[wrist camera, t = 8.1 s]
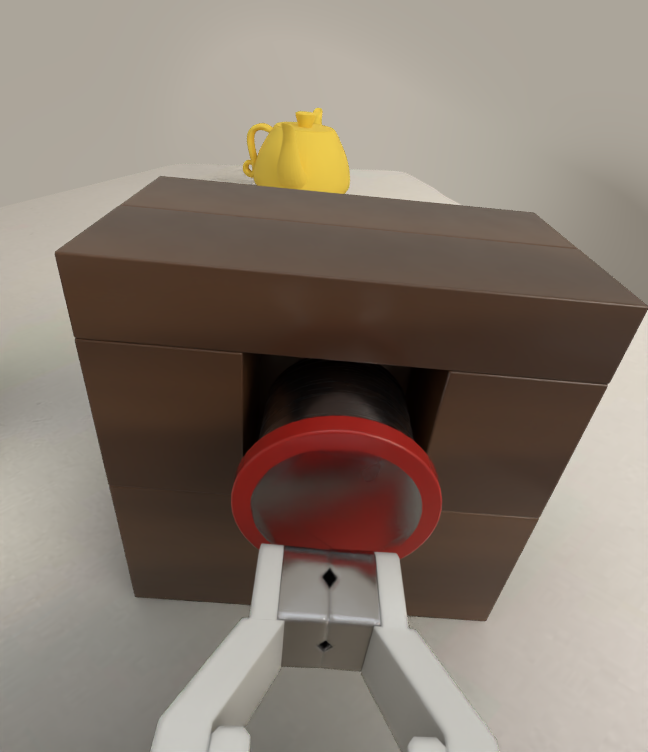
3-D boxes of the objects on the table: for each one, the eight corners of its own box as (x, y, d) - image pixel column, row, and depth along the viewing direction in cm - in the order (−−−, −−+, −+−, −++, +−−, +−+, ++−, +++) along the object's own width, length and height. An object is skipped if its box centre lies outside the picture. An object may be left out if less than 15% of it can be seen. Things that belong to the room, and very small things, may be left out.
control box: (486, 621, 19) (650, 306, 11) (134, 597, 19) (52, 251, 11) (447, 475, 26) (535, 212, 18) (187, 454, 25) (159, 175, 18)
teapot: (263, 181, 76) (264, 99, 70) (355, 194, 75) (365, 111, 68) (217, 215, 60) (213, 111, 53) (334, 232, 58) (345, 127, 52)
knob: (419, 580, 13) (467, 441, 10) (231, 567, 13) (227, 422, 10) (402, 475, 17) (435, 347, 14) (252, 463, 16) (253, 331, 14)
